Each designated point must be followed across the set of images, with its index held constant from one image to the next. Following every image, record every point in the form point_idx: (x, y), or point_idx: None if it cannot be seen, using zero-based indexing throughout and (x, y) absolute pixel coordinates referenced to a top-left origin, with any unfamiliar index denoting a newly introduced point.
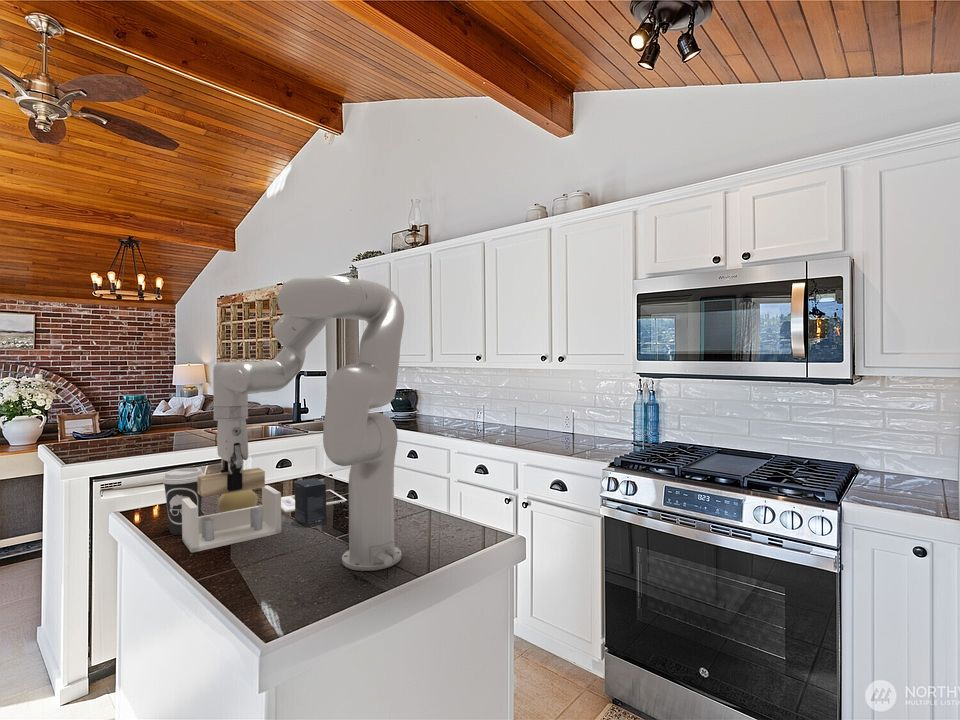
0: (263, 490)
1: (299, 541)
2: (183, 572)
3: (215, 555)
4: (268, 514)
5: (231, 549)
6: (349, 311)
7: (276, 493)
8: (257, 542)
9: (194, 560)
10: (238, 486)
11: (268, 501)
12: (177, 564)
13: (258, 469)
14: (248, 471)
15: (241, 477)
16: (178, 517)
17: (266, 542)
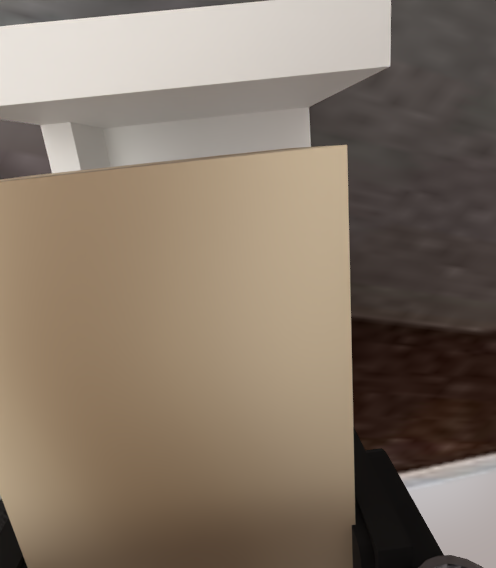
0: (21, 109)
1: (492, 23)
2: (487, 462)
3: (404, 373)
4: (191, 113)
5: (379, 318)
6: None
7: (386, 44)
8: (365, 212)
9: (404, 433)
10: (380, 450)
11: (189, 102)
12: (404, 475)
13: (104, 229)
14: (190, 412)
15: (379, 490)
16: None
17: (393, 176)
